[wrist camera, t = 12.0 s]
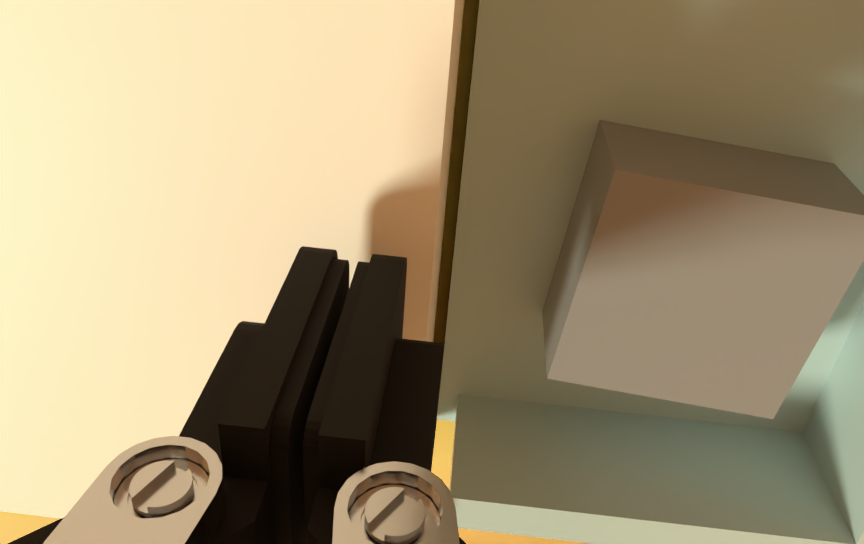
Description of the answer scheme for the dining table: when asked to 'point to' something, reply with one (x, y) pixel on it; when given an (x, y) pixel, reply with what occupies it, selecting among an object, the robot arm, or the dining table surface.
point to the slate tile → (699, 269)
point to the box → (541, 244)
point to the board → (194, 198)
